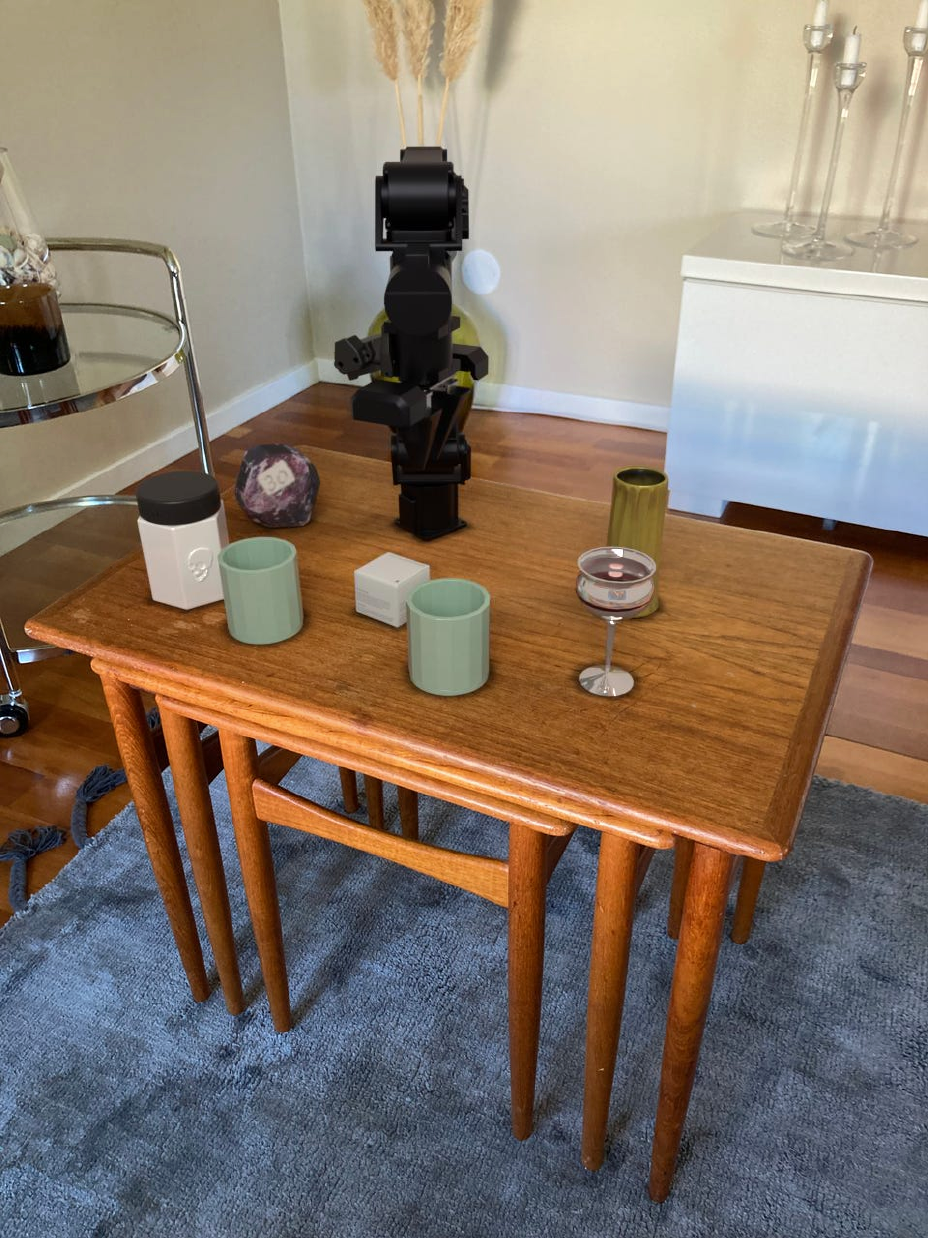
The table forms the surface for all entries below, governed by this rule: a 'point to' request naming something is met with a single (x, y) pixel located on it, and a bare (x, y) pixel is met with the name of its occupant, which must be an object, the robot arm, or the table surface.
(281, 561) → the cup
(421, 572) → the small box
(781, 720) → the table surface
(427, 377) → the robot arm
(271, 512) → the mineral specimen
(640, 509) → the vase
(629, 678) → the wineglass
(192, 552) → the jar
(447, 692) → the cup
